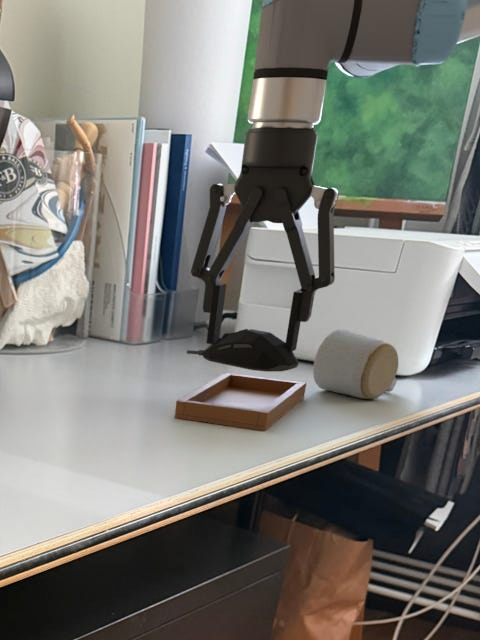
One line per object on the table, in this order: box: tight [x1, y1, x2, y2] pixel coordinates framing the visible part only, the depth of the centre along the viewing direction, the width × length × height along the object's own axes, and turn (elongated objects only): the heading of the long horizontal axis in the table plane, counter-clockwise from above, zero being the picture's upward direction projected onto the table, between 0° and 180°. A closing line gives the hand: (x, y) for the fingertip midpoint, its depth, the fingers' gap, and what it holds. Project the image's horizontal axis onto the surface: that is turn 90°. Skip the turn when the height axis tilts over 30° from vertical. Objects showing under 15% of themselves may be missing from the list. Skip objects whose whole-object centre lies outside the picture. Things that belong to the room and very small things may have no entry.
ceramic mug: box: [312, 328, 399, 400], centre depth 120 cm, size 11×8×8 cm
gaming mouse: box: [186, 328, 299, 373], centre depth 110 cm, size 6×15×4 cm, turn 43°
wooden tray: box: [174, 372, 307, 432], centre depth 113 cm, size 10×20×2 cm, turn 151°
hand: (250, 346), depth 110 cm, fingers closed on gaming mouse, 8 cm apart
